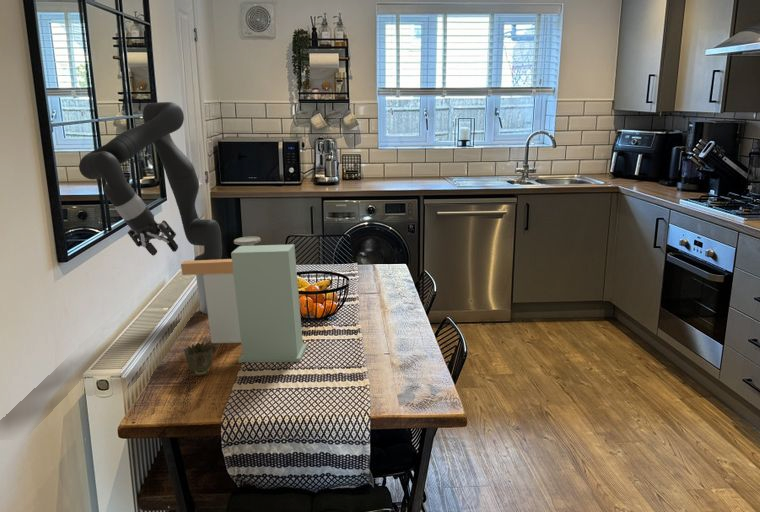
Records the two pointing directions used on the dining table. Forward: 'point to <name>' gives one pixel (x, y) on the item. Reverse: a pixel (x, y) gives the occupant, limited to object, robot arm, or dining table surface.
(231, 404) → the dining table surface
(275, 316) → the stand
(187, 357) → the cup
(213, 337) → the post
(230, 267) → the bar
